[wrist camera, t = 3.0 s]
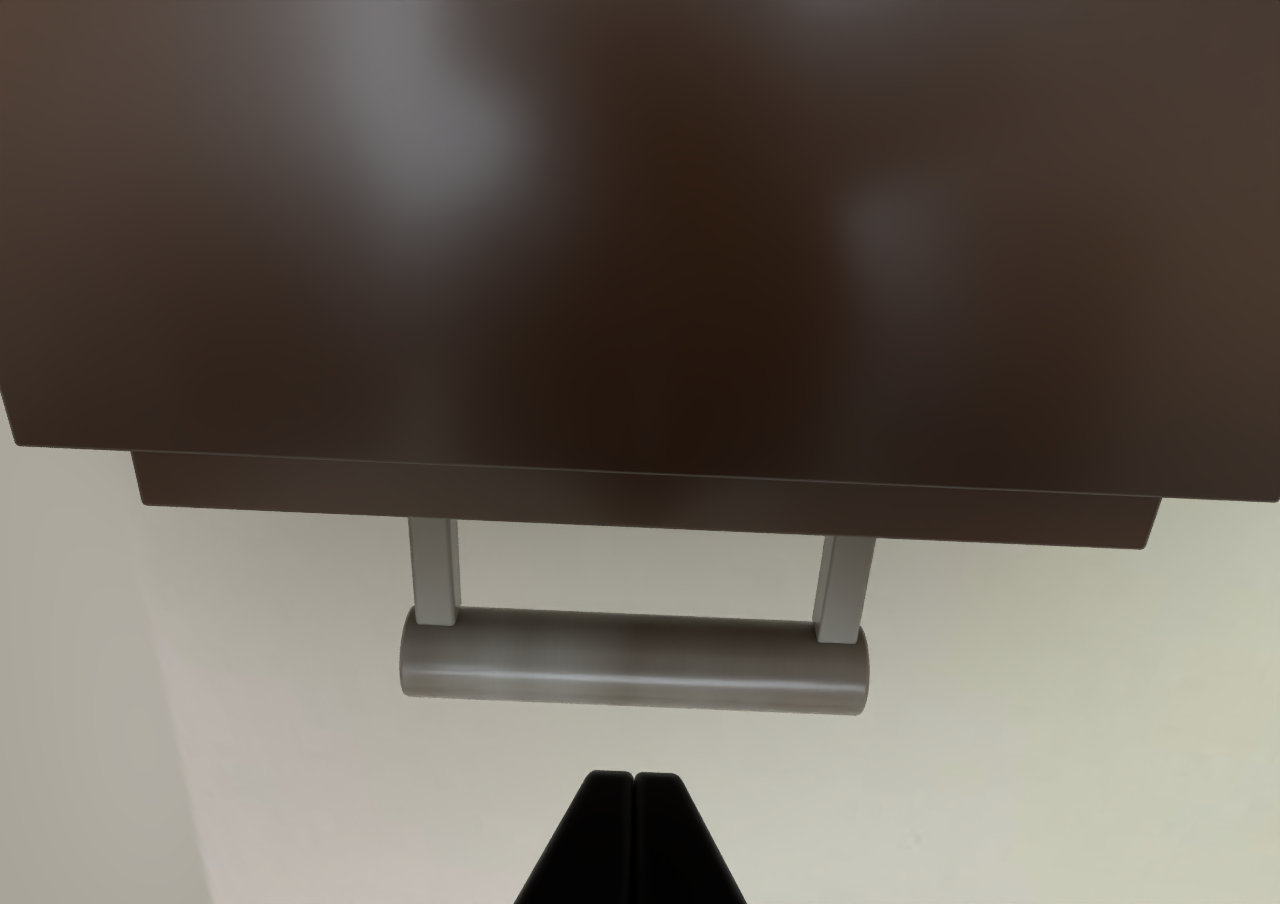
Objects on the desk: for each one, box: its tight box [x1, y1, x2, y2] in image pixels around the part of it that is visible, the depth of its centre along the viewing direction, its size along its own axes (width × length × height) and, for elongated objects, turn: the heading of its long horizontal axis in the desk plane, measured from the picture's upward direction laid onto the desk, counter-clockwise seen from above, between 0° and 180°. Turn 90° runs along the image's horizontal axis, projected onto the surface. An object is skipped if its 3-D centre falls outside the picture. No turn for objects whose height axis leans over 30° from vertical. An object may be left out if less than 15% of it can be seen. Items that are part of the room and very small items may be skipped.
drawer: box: [131, 451, 1162, 716], centre depth 12 cm, size 18×11×7 cm, turn 177°
